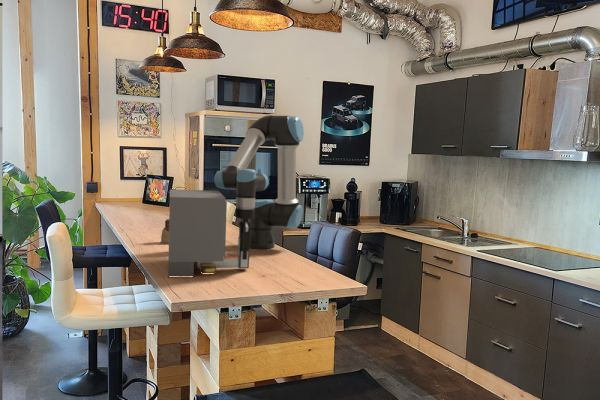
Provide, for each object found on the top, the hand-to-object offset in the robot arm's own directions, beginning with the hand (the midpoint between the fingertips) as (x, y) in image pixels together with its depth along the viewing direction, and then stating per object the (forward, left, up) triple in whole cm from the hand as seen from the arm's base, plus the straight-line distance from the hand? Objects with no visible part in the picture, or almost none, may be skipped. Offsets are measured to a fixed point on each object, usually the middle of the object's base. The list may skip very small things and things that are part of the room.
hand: (243, 265), depth 198 cm
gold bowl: (+14, +4, -2) cm, 15 cm away
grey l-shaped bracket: (+8, 0, -1) cm, 8 cm away
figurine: (+29, -54, -2) cm, 61 cm away
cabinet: (+19, -4, -2) cm, 20 cm away
